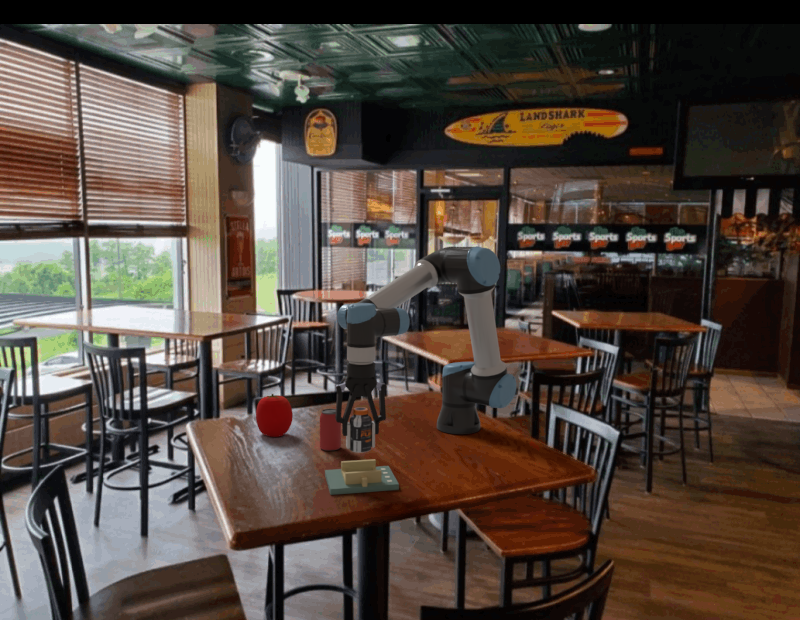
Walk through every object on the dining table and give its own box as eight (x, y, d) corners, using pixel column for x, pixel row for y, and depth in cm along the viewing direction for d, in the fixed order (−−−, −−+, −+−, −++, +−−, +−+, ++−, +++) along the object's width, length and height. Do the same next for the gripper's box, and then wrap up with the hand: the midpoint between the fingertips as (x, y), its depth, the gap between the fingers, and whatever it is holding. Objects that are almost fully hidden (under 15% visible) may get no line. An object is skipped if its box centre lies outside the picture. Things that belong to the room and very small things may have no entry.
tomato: (248, 437, 213) (247, 395, 211) (267, 428, 223) (267, 388, 222) (281, 442, 208) (280, 399, 207) (299, 432, 219) (298, 391, 217)
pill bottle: (362, 454, 170) (363, 412, 168) (344, 450, 173) (344, 409, 172) (375, 448, 175) (376, 407, 173) (357, 444, 178) (358, 404, 177)
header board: (388, 470, 184) (388, 455, 183) (398, 489, 170) (399, 473, 169) (324, 475, 180) (324, 459, 179) (330, 494, 166) (330, 478, 166)
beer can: (337, 452, 199) (337, 414, 198) (317, 450, 200) (316, 412, 199) (343, 445, 206) (343, 408, 204) (323, 444, 207) (323, 407, 205)
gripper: (393, 358, 177) (392, 440, 179) (323, 360, 173) (323, 444, 175) (399, 363, 170) (397, 449, 172) (326, 365, 166) (326, 453, 168)
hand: (360, 446), depth 174 cm, fingers closed on pill bottle, 6 cm apart
